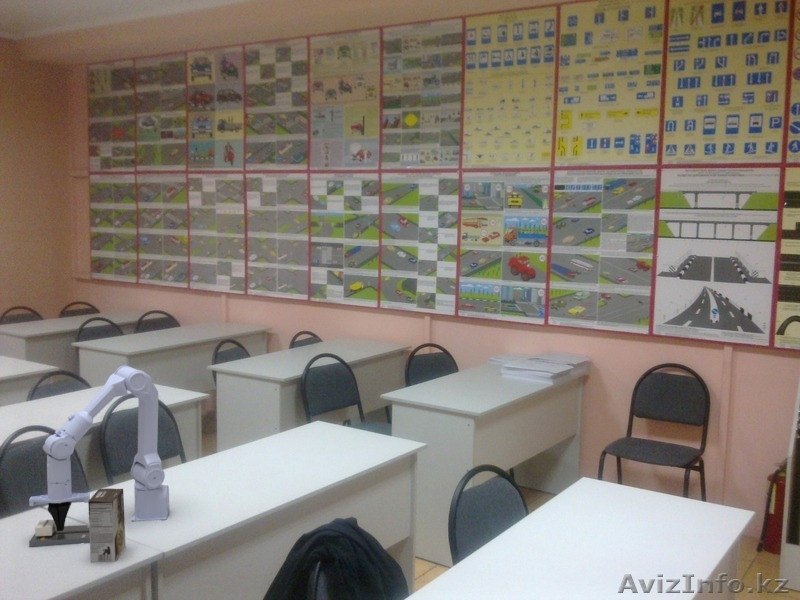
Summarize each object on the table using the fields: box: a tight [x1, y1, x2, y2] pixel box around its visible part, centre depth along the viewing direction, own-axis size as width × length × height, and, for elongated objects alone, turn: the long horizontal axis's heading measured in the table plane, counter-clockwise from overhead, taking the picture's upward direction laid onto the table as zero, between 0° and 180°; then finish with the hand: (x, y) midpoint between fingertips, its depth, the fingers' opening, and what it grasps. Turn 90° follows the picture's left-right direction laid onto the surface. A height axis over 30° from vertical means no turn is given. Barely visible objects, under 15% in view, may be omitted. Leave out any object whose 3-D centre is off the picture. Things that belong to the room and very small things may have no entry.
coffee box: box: [87, 488, 126, 564], centre depth 191 cm, size 9×6×16 cm
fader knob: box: [34, 519, 56, 536], centre depth 200 cm, size 4×5×2 cm
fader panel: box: [28, 524, 90, 548], centre depth 201 cm, size 16×9×2 cm, turn 100°
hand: (60, 529), depth 201 cm, fingers closed
